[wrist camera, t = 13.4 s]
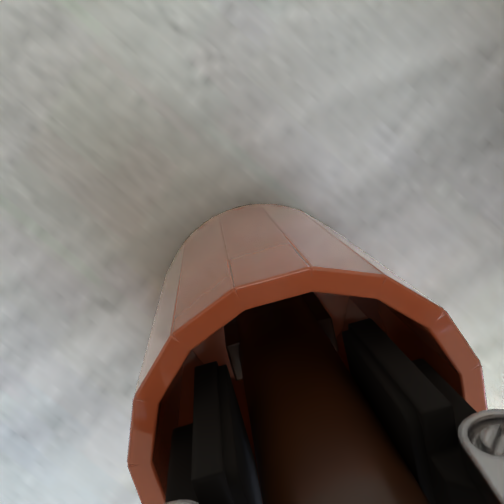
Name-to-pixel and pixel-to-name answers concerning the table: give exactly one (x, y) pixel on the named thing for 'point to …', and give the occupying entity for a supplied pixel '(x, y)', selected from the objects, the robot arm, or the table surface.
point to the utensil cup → (261, 293)
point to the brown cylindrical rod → (311, 412)
